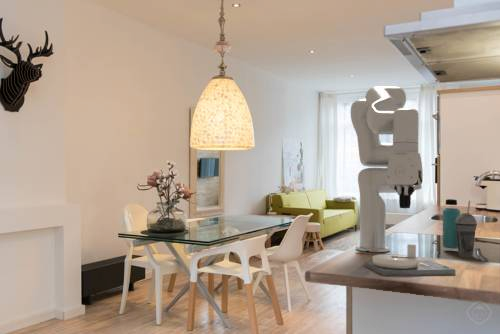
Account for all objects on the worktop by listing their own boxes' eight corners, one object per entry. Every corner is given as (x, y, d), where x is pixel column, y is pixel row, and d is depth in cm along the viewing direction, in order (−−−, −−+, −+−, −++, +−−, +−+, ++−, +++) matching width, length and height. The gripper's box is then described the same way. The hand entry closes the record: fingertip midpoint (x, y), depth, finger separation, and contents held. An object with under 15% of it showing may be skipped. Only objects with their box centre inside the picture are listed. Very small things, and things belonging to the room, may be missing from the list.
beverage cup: (453, 254, 170) (454, 200, 170) (475, 255, 168) (475, 200, 168) (455, 257, 163) (455, 200, 164) (478, 258, 161) (478, 201, 161)
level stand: (363, 265, 145) (363, 260, 145) (429, 264, 148) (429, 259, 148) (382, 275, 130) (382, 269, 130) (455, 274, 133) (455, 268, 133)
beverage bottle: (462, 253, 173) (463, 199, 173) (444, 252, 174) (444, 199, 174) (458, 250, 179) (458, 199, 179) (440, 249, 180) (440, 198, 181)
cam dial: (379, 268, 132) (379, 247, 132) (368, 260, 145) (368, 241, 145) (424, 269, 132) (424, 248, 132) (409, 260, 145) (409, 241, 145)
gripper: (377, 149, 146) (377, 206, 146) (420, 147, 134) (419, 210, 134) (392, 150, 151) (391, 206, 150) (434, 148, 139) (433, 209, 138)
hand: (404, 207), depth 142 cm, fingers closed
